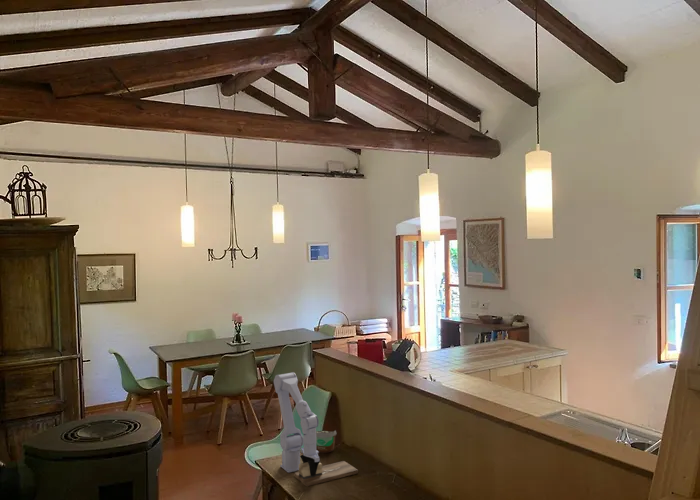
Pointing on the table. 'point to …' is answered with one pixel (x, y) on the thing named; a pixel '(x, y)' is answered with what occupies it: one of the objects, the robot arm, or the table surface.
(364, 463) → the table surface
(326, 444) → the food container
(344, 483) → the table surface
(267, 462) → the table surface
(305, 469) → the block
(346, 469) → the walnut board
